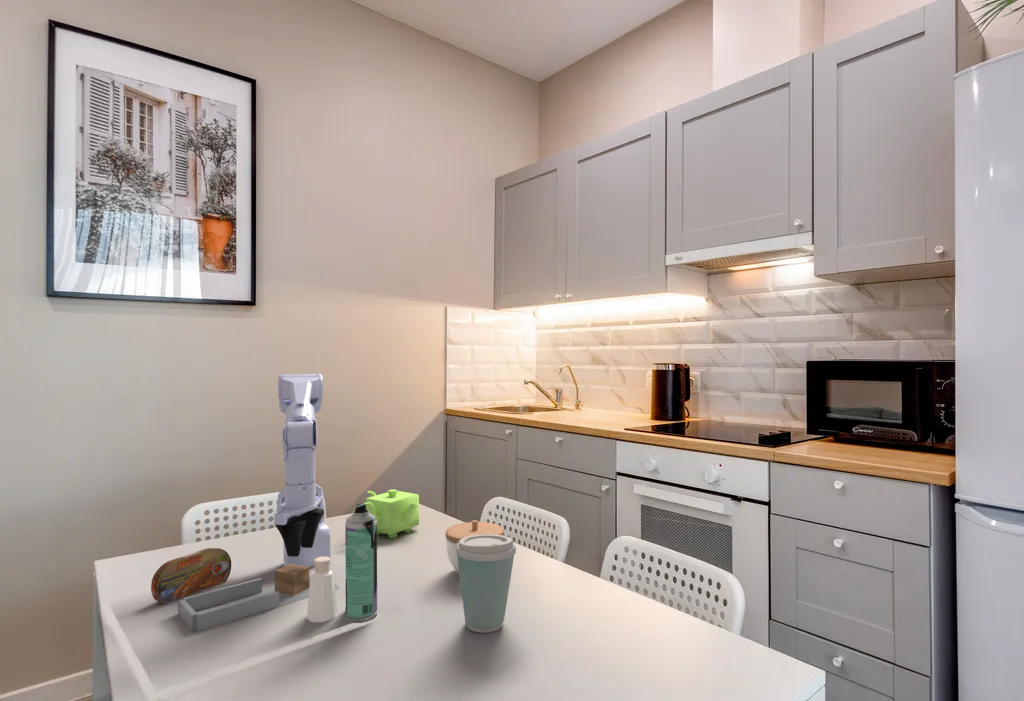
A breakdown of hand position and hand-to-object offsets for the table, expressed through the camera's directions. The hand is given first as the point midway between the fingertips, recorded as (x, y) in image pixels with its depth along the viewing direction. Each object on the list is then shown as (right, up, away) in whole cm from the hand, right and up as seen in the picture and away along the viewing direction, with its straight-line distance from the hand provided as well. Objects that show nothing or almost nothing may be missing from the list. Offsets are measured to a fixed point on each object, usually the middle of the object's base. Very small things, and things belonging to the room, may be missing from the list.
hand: (300, 551), depth 112 cm
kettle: (+9, -9, +40) cm, 42 cm away
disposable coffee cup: (+37, -8, -13) cm, 40 cm away
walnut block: (-2, -7, 0) cm, 8 cm away
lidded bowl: (+34, -9, +11) cm, 36 cm away
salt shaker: (+8, -8, -12) cm, 17 cm away
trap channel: (-6, -8, -6) cm, 12 cm away
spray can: (+15, -8, -10) cm, 19 cm away
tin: (-21, -9, -1) cm, 23 cm away
